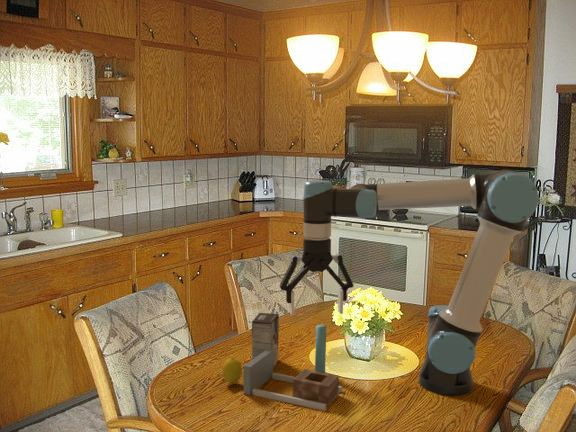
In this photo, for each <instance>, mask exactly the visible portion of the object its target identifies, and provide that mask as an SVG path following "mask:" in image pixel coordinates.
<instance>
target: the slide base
mask: <svg viewBox="0 0 576 432" xmlns="http://www.w3.org/2000/svg"><path fill="white" fill-rule="evenodd" d="M295 377H296V376H292V375H287V374H283V373H282V374H281V373H277V372H274V368H273V350H269V349H266V350H265V351H264V352H262V353H261V354H260V355H258V356H257V357H255V358H254V359H253V360H252V359H251V360H249V361H248V362H246V364H244V365H243V394H244V395H248V396H251V395H252V396H255V397H256V396H257V397H260V398H261V397H262V398H264V399H270V400H274V401H279V402H284V403H287V404H288V403H289V404H292V405H295V406H297V405H298V406H301V407H305V408H308V409H309V408H310V409H314V410H318V411H324V412H325V411H326V410H327V406H326V404H324V403H319V402H315V401H310V400H305V399H301V398H296V397H293V395H292V396H291V395H287V394H282V393H277V392H273V391H269V390H264V389H260V388H261V387H262V386H263V385H264V384H266V382H268V381H269V380H270V379H272V380H277V381H283V382H286V383H292V384H293V379H294V378H295ZM342 392H343V386H342V385H338V394H341V393H342Z"/></svg>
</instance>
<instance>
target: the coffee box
mask: <svg viewBox="0 0 576 432" xmlns="http://www.w3.org/2000/svg"><path fill="white" fill-rule="evenodd" d="M279 317H280V314H279V313H269V312H259V313H258V314H257V315H256V316H255V318H254V319H253V320H252V321H251V360H253V359H254V358H255V357H257V356H258V355H260V354H261V353H262V352H264V351H265V350H266V349H269V350H273V369H274V368H275V367H276V364H278V362H279V329H280V328H279Z"/></svg>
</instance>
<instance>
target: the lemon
mask: <svg viewBox="0 0 576 432" xmlns="http://www.w3.org/2000/svg"><path fill="white" fill-rule="evenodd" d="M221 372H222V376H223V379H224V380H225V381H226V382H227V383H229V384H230V385H234V384H235V383H237V382H238V381H239V380H240V379H241V377H242V373H243V368H242V364H241V362H240V361H239V360H238V359H237V358H234V356H233V357H230V358H228V359H227V360H225V362H224V363H223V366H222V371H221Z"/></svg>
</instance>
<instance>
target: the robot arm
mask: <svg viewBox="0 0 576 432" xmlns="http://www.w3.org/2000/svg"><path fill="white" fill-rule="evenodd" d="M332 184H333V183H332V182H331V181H330V180H323V179H322V180H321V179H320V180H319V179H318V180H308V181H306V182H305V183H304V186H303V188H304V189H303V197H302V201H303V230H302V231H303V234H302V235H303V237H304V238H303V240H302V241H303V242H302V245H303V248H302V249H303V250H302V255H299V256H298V255H296V254H292V255H291V257H290V260H291V261H290V264H289V266H288V268H287V270H286V271H285V274H284V276H283V277H282V280H281V281H280V283H279V288H280V290H281V291H285V299H286V302H287V304H289V313H290V316H291V317H292V316H293V317H294V316H295V292H294V289H295V288H296V286H297V285H298V284H299V282H300V281H301V280H302V279H303V278H304V277H305V276H306V275H307V274H308V273H309V272H312V273H316V272H319V273H321V272H322V273H323V272H324V271H327V273H329V274H330V276H331V277H332V278H333V280H335V282H336V283H337V284H338V286H340V287H338V290H337V292H338V293H337V294H338V295H337V297H338V298H337V312H339V314H340V315H342V314H344V302H346V301H347V298H348V296H347V294H348V290H349V289H352V288H354V282H353V281H352V279H351V277H350V275H349V273H348V271H347V269H346V266H345V265H344V261H343V256H342V254H340V253H336V254H335V255H333V254H332V239H331V236H332V217H335V218H337V217H339V218H340V217H341V218H359V219H367V218H368V219H370V218H371V219H372V218H375V216H376V215H377V211H383V210H384V211H387V210H405V209H406V210H409V209H411V210H412V209H431V208H450V207H451V208H454V207H471V208H473V210H478V211H477V215H476V218H477V219H478V221H479V227H478V229H477V232H476V234H475V237H474V239H473V241H472V245H471V247H470V250H469V251H468V252H469V253H468V254H467V257H466V260H465V262H464V265H463V268H462V269H461V273H460V275H459V278H458V280H457V283H456V285H455V288H454V289H453V290H454V291H453V293H452V295H451V298H450V301H449V303H448V305H447V304H446V305H442V304H441V305H439V304H438V305H433V306H431V307H430V308H429V310H428V314H427V317H428V322H427V336H426V337H427V339H426V340H427V341H426V355H425V356H426V357H425V359H424V362H423V364H422V366H421V368H420V371H419V373H418V374H419V375H418V382H419V384H420V386H421V387H422V388H424V389H425V390H427V391H430V392H432V393H436V394H441V395H445V396H446V395H447V396H458V395H465V394H468V393H470V392H471V391H472V390H473V389H474V388H473V387H474V378H473V375H472V372H471V367H472V365H473V363H474V361H475V359H476V347H477V344H478V342H479V339H480V338H481V337H480V336H481V335H482V331H483V327H482V324H481V322H480V320H481V318H482V316H483V313H484V311H485V309H486V306H487V303H488V301H489V299H490V296H491V294H492V291H493V288H494V286H495V283H496V281H497V279H498V275H499V274H500V271H501V269H502V266H503V265H504V261H505V259H506V256H507V254H508V251H509V249H510V247H511V244H512V241H513V239H514V237H515V236H517V235H519V234H520V235H521V234H522V233H523V231H524V229H525V227H526V224H527V222H528V219H529V218H530V217H531V216H532V215H533V214H534V213H535V211H536V209H537V207H538V206H539V205H538V204H539V192H538V189H537V186H536V184H535V183H534V181H533V180H532V179H531V178H530V177H528V176H527V175H525V174H523V173H522V172H518V171H517V170H512V169H503V170H497V171H492V172H485V173H476V174H475V173H474V174H472V175H471V176H470V177H468V178H456V179H455V178H454V179H453V178H451V179H436V180H435V179H433V180H421V181H418V180H417V181H401V182H387V183H386V182H384V183H369V184H366V183H357V184H354V185H352V186H351V187H350V188H335V187H334V188H333V185H332ZM300 262H302V263H303V266H302V267H301V268H300V270H299V271H298V272H297V273H296V275H295V276H294V277H292V275H293V274H294V272H295V270H296V268H297V265H299V264H300ZM332 262H335V263H336V264H337V266H338V268H339V270H340V272H341V274H342V276H343V278H344V281H345V282H346V283H344V281H342V279H341V278H340V277H339V276H338V275H337V273H336V272H335V271H334V270H333V268H332V267H330V264H331V263H332ZM291 278H292V279H291ZM290 279H291V281H290Z"/></svg>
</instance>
